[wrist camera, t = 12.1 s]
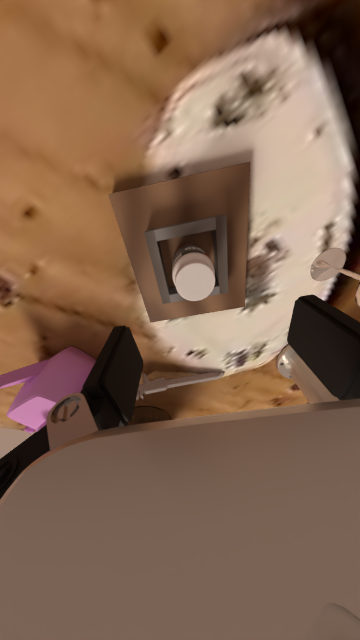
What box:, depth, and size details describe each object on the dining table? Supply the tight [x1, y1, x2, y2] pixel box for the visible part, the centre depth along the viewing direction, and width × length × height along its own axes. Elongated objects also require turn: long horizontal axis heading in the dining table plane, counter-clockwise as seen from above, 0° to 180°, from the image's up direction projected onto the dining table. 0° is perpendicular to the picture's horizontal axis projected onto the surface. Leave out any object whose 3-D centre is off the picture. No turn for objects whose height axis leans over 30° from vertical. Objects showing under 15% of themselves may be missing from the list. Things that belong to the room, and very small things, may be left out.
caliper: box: [136, 372, 224, 400], centre depth 36 cm, size 20×1×6 cm, turn 90°
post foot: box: [108, 162, 250, 322], centre depth 23 cm, size 16×18×4 cm
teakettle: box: [0, 346, 96, 433], centre depth 33 cm, size 17×17×12 cm
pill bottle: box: [172, 244, 215, 301], centre depth 20 cm, size 5×5×8 cm
